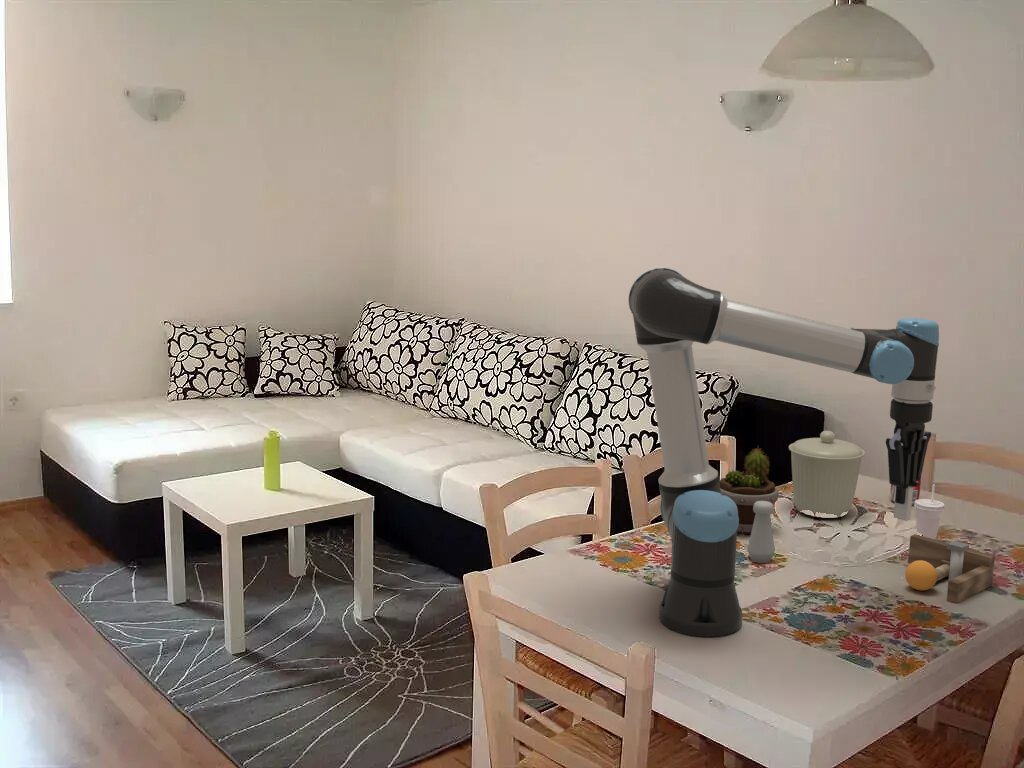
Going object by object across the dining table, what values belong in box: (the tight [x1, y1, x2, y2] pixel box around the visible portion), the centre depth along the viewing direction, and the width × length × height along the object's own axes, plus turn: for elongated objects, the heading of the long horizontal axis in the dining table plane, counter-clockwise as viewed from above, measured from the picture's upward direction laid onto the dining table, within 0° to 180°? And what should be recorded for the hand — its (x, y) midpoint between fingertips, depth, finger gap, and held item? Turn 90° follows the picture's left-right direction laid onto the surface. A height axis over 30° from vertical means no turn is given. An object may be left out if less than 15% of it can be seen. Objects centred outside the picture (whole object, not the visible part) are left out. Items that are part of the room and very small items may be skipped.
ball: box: [904, 560, 937, 592], centre depth 211 cm, size 6×6×6 cm
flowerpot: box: [719, 445, 780, 537], centre depth 246 cm, size 14×15×20 cm
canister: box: [788, 430, 866, 516], centre depth 260 cm, size 18×18×21 cm
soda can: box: [890, 478, 922, 506], centre depth 271 cm, size 7×7×12 cm
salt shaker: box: [747, 501, 776, 564], centre depth 227 cm, size 6×6×13 cm
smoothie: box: [913, 483, 945, 540], centre depth 239 cm, size 6×6×14 cm
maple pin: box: [935, 560, 950, 582], centre depth 217 cm, size 3×3×9 cm
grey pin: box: [947, 540, 970, 581], centre depth 214 cm, size 3×3×9 cm
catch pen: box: [907, 533, 996, 604], centre depth 216 cm, size 16×18×6 cm
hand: (901, 518), depth 204 cm, fingers closed
